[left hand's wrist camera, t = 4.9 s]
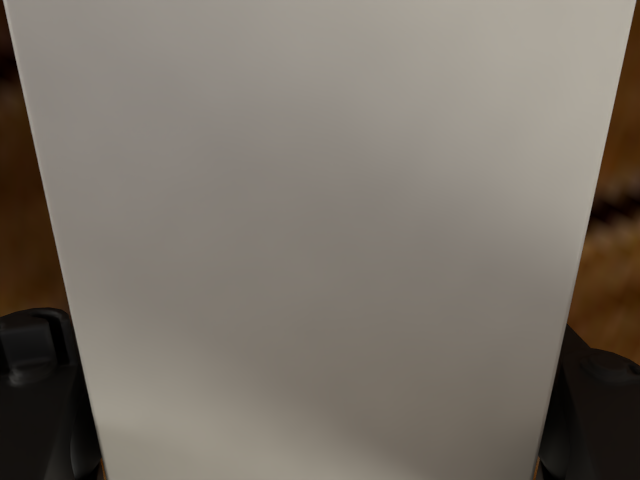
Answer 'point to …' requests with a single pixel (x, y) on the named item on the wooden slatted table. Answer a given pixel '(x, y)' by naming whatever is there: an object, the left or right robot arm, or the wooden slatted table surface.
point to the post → (319, 224)
